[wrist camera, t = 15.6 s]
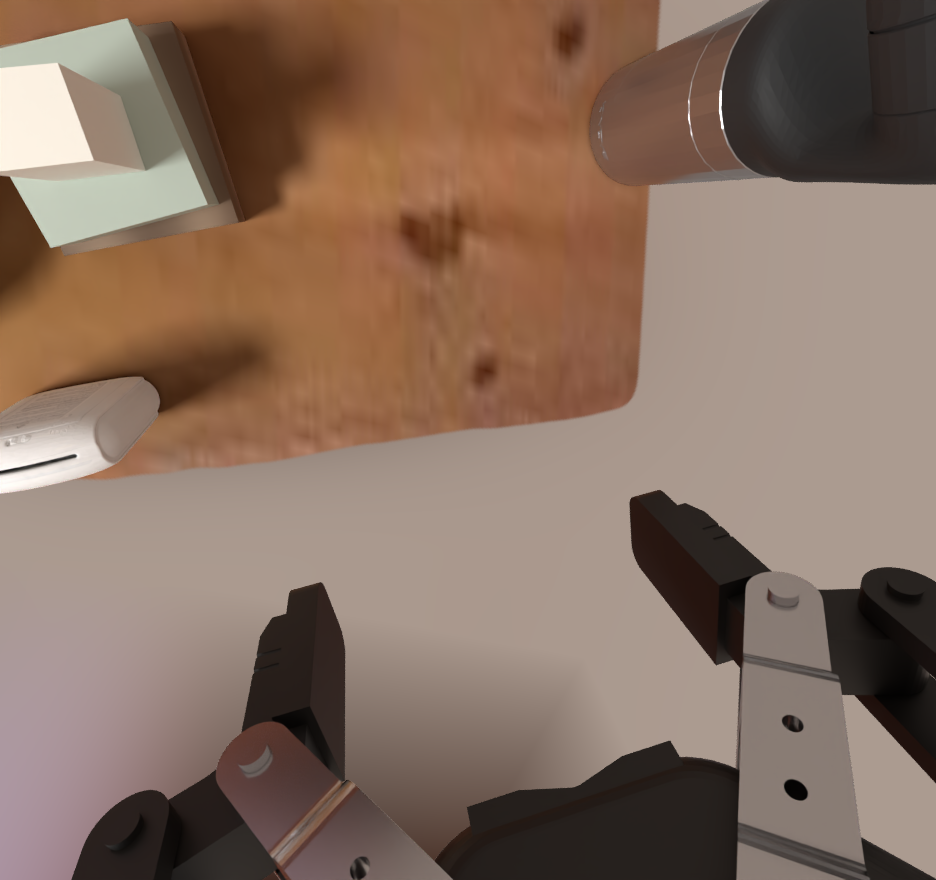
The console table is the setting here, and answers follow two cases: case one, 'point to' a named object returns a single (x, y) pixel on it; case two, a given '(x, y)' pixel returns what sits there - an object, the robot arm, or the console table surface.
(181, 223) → the tower base
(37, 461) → the photo printer
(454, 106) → the console table surface
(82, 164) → the cream block
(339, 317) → the console table surface
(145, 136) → the tower top
